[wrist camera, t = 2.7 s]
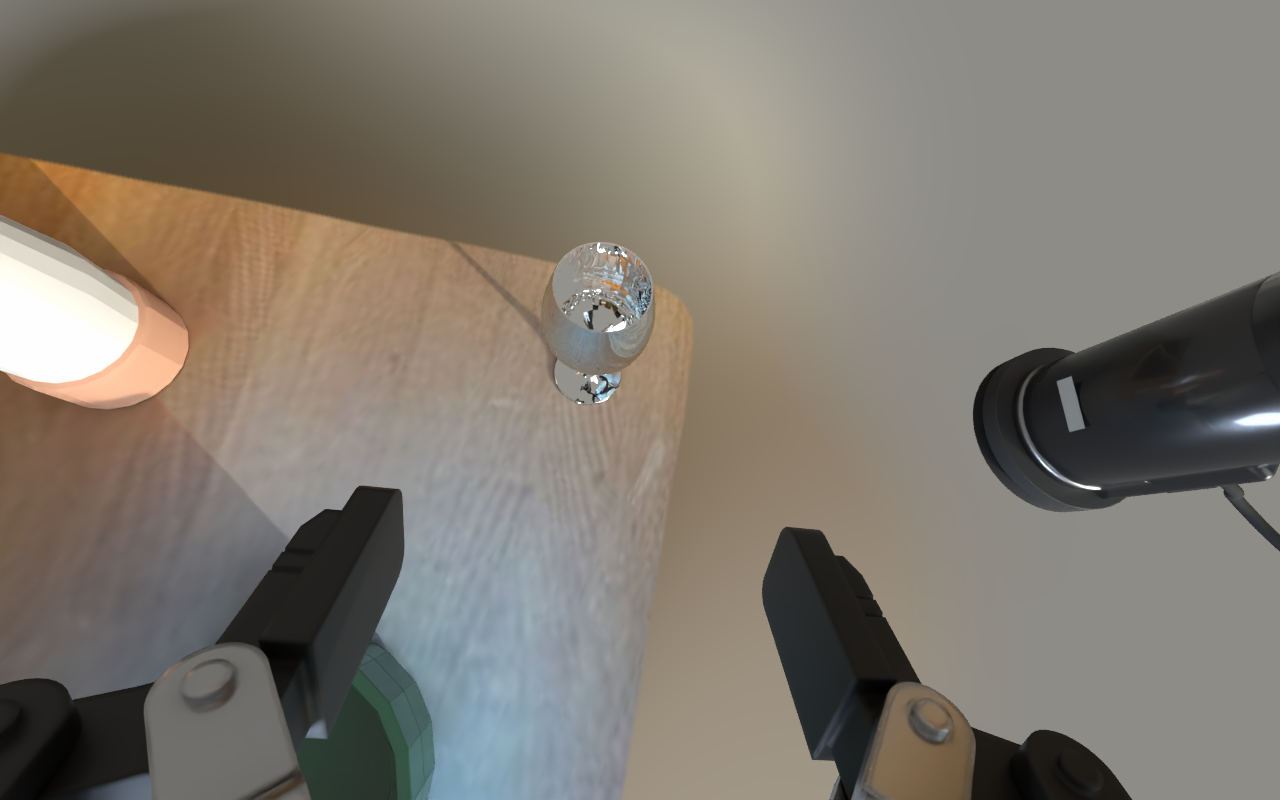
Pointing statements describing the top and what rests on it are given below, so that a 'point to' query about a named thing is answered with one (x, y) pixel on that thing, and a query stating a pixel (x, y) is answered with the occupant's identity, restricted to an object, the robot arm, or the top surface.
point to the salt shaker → (81, 325)
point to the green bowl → (374, 739)
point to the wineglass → (597, 318)
